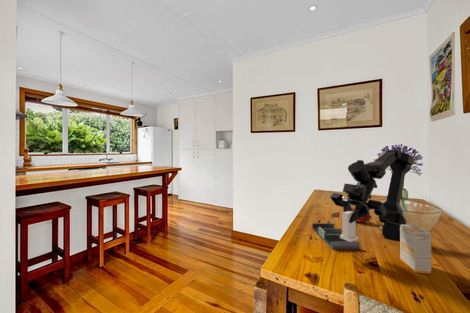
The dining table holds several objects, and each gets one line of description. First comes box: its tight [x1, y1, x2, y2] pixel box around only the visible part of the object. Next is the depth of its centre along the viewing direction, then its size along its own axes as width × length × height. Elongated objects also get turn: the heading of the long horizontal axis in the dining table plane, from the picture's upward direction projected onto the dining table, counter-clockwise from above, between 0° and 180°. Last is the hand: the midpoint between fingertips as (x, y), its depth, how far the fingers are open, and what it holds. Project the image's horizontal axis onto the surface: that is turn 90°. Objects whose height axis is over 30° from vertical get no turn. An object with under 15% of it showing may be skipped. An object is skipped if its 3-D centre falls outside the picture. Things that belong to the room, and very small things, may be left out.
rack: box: [311, 222, 361, 250], centre depth 91 cm, size 11×22×4 cm, turn 179°
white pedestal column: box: [340, 211, 359, 242], centre depth 75 cm, size 5×4×10 cm
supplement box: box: [399, 224, 432, 275], centre depth 68 cm, size 8×5×13 cm, turn 168°
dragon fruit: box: [351, 206, 373, 224], centre depth 112 cm, size 8×8×12 cm
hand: (346, 221), depth 74 cm, fingers closed on white pedestal column, 2 cm apart
